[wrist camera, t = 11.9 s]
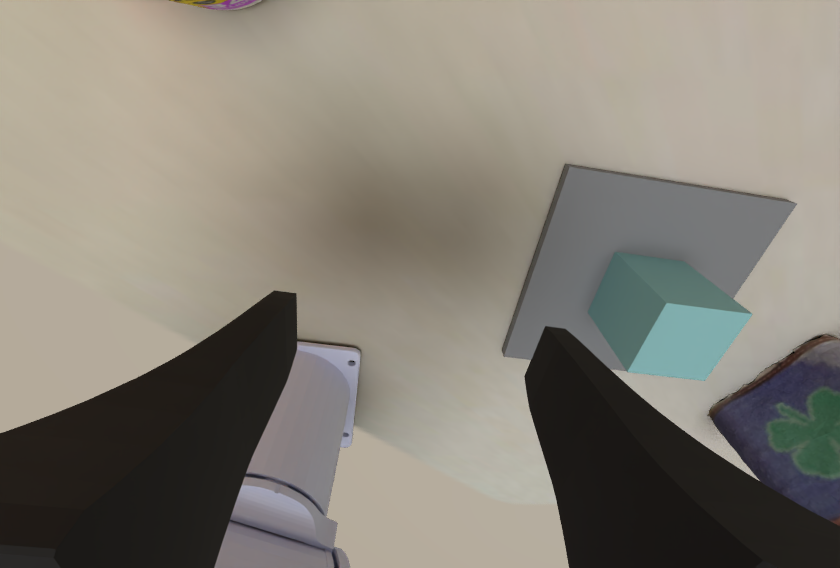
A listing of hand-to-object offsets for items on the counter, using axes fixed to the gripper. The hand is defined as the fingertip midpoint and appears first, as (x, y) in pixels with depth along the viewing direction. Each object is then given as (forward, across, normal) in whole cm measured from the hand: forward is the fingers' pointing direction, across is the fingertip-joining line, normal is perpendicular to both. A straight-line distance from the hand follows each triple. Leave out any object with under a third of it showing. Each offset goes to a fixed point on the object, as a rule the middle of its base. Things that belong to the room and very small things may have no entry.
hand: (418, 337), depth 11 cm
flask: (+11, -26, +9) cm, 29 cm away
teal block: (+10, -13, +2) cm, 16 cm away
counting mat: (+10, -13, +3) cm, 17 cm away
